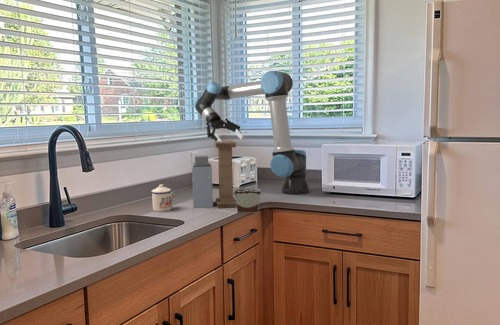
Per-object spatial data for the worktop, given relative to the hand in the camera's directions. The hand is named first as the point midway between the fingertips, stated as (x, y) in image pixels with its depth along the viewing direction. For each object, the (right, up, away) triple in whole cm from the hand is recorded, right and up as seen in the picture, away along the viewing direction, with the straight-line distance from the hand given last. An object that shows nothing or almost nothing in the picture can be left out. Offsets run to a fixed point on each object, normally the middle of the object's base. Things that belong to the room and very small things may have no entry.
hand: (232, 140), depth 231 cm
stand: (-2, -32, -21) cm, 38 cm away
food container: (+9, -33, -35) cm, 49 cm away
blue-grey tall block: (-13, -32, -20) cm, 40 cm away
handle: (-14, -12, -17) cm, 25 cm away
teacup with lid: (-30, -33, -28) cm, 53 cm away
